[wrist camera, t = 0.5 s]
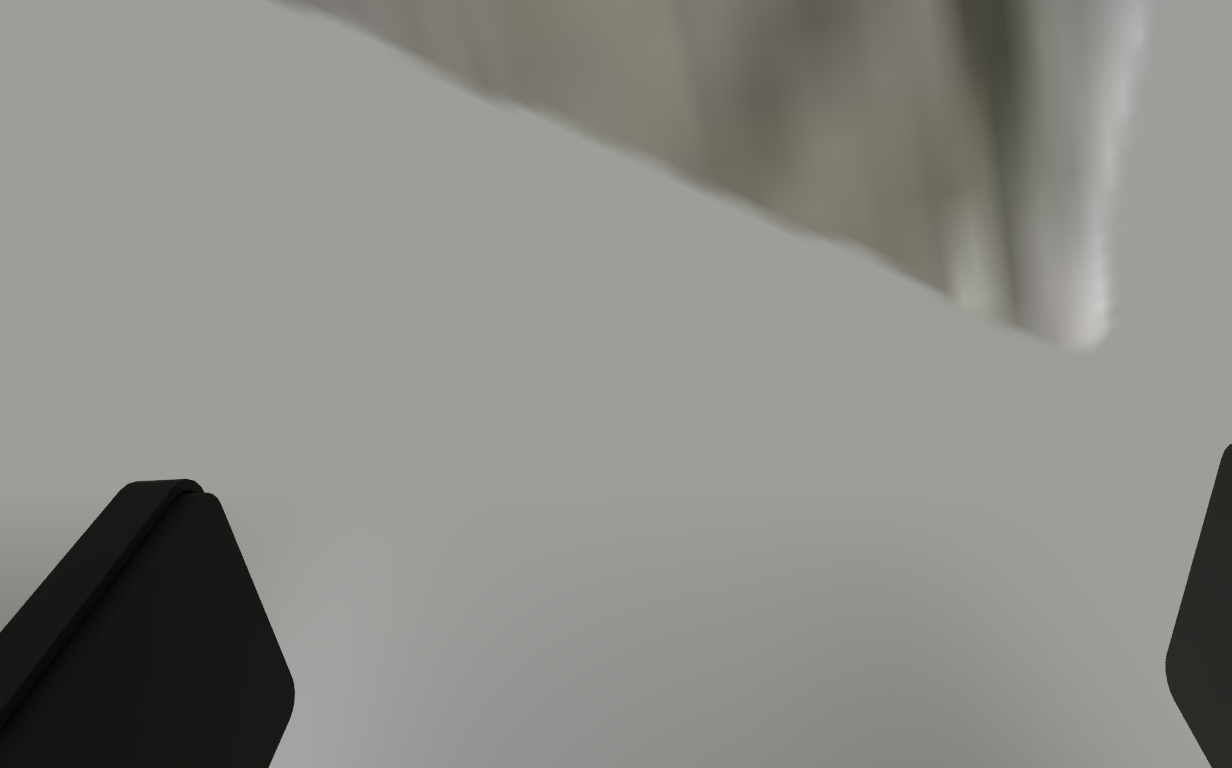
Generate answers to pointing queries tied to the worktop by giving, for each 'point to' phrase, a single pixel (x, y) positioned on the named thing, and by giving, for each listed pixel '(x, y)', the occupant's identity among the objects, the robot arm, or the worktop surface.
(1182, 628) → the robot arm
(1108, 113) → the worktop surface
